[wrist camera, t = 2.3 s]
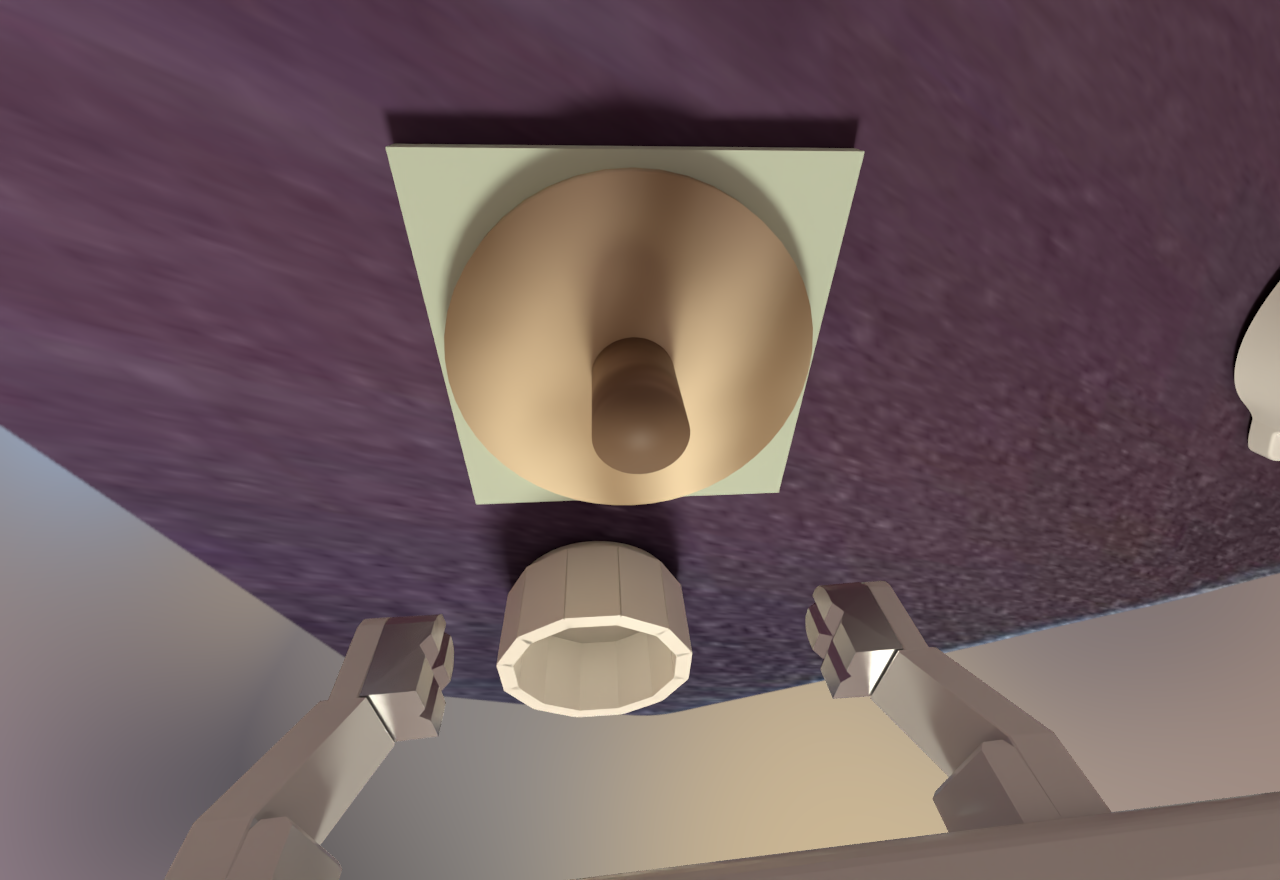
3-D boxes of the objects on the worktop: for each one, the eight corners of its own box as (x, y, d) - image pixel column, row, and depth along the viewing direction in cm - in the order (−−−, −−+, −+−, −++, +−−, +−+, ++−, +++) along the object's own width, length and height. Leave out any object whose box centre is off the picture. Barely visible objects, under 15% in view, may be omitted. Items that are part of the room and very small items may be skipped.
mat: (854, 148, 17) (864, 151, 16) (773, 481, 26) (778, 492, 25) (393, 143, 16) (385, 146, 15) (479, 493, 25) (476, 504, 24)
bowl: (683, 532, 27) (698, 610, 23) (673, 633, 33) (683, 709, 29) (500, 540, 27) (483, 623, 23) (523, 642, 33) (513, 721, 29)
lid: (844, 167, 16) (926, 200, 12) (770, 484, 25) (805, 565, 21) (406, 167, 15) (340, 201, 11) (485, 496, 24) (463, 583, 20)
